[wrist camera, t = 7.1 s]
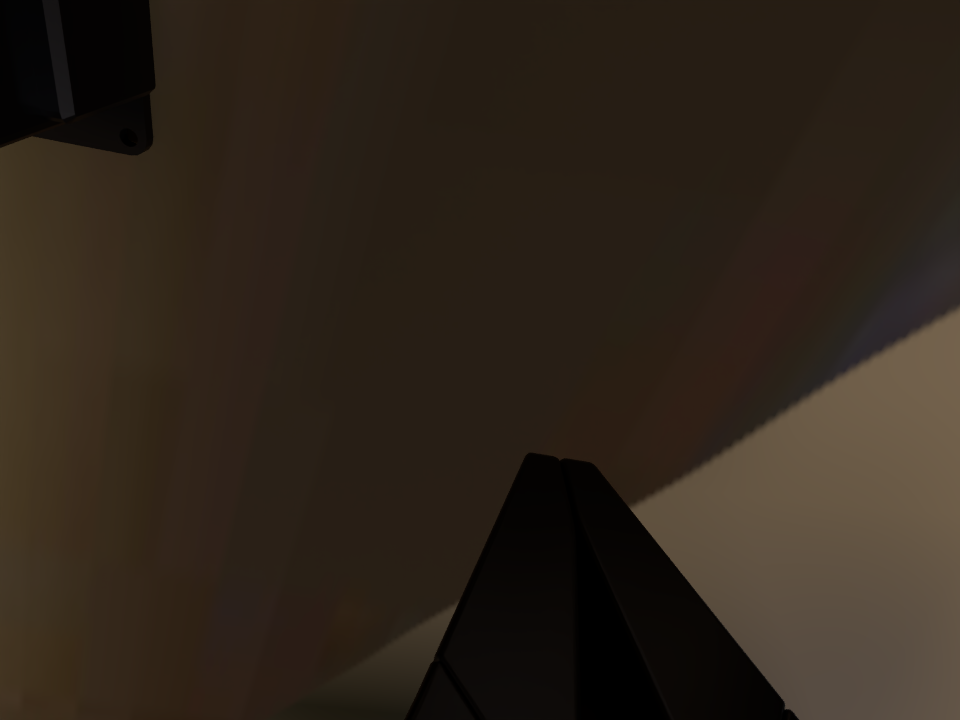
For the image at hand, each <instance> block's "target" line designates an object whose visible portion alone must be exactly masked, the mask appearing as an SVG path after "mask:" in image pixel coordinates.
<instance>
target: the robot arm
mask: <svg viewBox="0 0 960 720" xmlns="http://www.w3.org/2000/svg"><path fill="white" fill-rule="evenodd" d="M154 89H155V72H154V60H153V47H152V34H151V21H150V9H149V0H0V148H1V147H4V146H6V145H9V144H12V143H15V142H17V141H20V140H23V139H25V138H28V137H31V136H34V137H39V138H44V139H49V140H54V141H60V142H65V143H70V144H75V145H80V146H85V147H91V148H96V149H101V150H106V151H111V152H116V153H122V154H127V155H139V154H141V153H143V152H145V151H147V150H148V149H150V147H151V146H152V143H153V130H152V118H151V106H150V94H149V93H150V92H151V91H152V90H154ZM127 128H128V129H130V130H132V131H133V132H134V133H135V134H136V135H137V138H138V142H137V144H136V143H134V142H132V141H131V140H130V139H129V138H128V136H127V133H126V132H127ZM404 720H799V719H798V718H797V716H796V715H795V714H794V713H793V712H792V711H791V710H789V709H786V710H785V702H784V701H783V699H782V698H781V697H780V696H779V694H778V693H777V692H776V691H775V689H774V688H773V687H772V686H771V684H770V683H769V682H768V681H767V679H766V678H765V677H764V676H763V674H762V673H761V672H760V671H759V669H758V668H757V667H756V666H755V664H754V663H753V662H752V661H751V660H750V658H749V657H748V656H747V654H746V653H745V652H744V651H743V649H742V648H741V647H740V646H739V645H738V643H737V642H736V641H735V640H734V638H733V637H732V636H731V635H730V633H729V632H728V631H727V629H726V628H725V627H724V626H723V625H722V623H721V622H720V621H719V619H718V618H717V617H716V616H715V615H714V613H713V612H712V611H711V609H710V608H709V607H708V606H707V604H706V603H705V602H704V601H703V599H702V598H701V597H700V596H699V595H698V593H697V592H696V591H695V589H694V588H693V587H692V586H691V585H690V583H689V582H688V581H687V580H686V578H685V577H684V576H683V575H682V573H681V572H680V571H679V570H678V568H677V567H676V566H675V565H674V563H673V562H672V561H671V560H670V558H669V557H668V556H667V555H666V553H665V552H664V551H663V550H662V548H661V547H660V546H659V545H658V543H657V542H656V541H655V540H654V538H653V537H652V536H651V535H650V533H649V532H648V531H647V530H646V528H645V527H644V526H643V525H642V523H641V522H640V521H639V520H638V518H637V517H636V516H635V515H634V513H633V512H632V511H631V510H630V508H629V507H628V506H627V505H626V503H625V502H624V501H623V500H622V498H621V497H620V496H619V495H618V493H617V492H616V491H615V490H614V488H613V487H612V486H611V485H610V483H609V482H608V481H607V480H606V478H605V477H604V476H603V475H602V473H601V472H600V471H599V470H598V468H597V467H596V466H595V465H594V464H592V463H590V462H585V461H579V460H573V459H567V458H564V459H562V460H560V461H559V459H558V458H556V457H554V456H549V455H543V454H537V453H528V454H527V455H526V456H525V458H524V460H523V462H522V464H521V467H520V469H519V471H518V473H517V475H516V478H515V480H514V482H513V484H512V487H511V489H510V491H509V493H508V495H507V498H506V500H505V502H504V504H503V506H502V509H501V511H500V513H499V515H498V517H497V520H496V522H495V524H494V526H493V528H492V531H491V533H490V535H489V537H488V539H487V542H486V544H485V546H484V548H483V550H482V553H481V555H480V557H479V559H478V561H477V564H476V566H475V568H474V570H473V573H472V575H471V577H470V579H469V581H468V584H467V586H466V588H465V590H464V592H463V595H462V597H461V599H460V601H459V603H458V606H457V608H456V610H455V613H454V614H453V617H452V619H451V621H450V623H449V625H448V628H447V630H446V632H445V634H444V636H443V639H442V641H441V643H440V646H439V648H438V650H437V652H436V654H435V657H434V661H433V662H432V663H431V664H430V667H429V669H428V671H427V673H426V675H425V677H424V680H423V682H422V684H421V686H420V688H419V691H418V693H417V695H416V697H415V699H414V701H413V703H412V705H411V707H410V709H409V711H408V713H407V715H406V717H405V719H404Z"/></svg>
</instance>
